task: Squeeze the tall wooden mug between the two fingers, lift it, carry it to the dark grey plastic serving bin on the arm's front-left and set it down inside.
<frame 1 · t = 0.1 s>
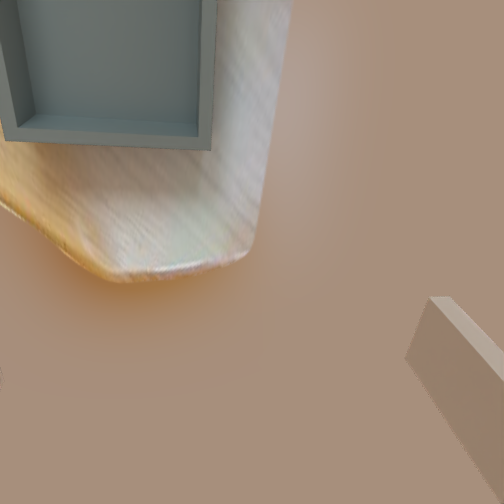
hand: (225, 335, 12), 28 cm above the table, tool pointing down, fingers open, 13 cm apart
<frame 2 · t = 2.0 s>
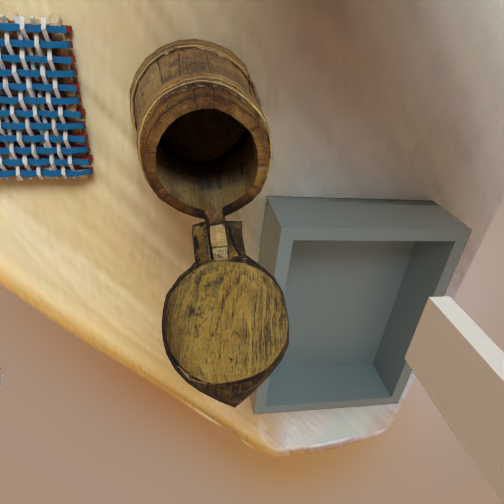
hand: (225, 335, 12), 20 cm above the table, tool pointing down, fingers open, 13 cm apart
serving bin: (330, 293, 39), on the table
wooden mug: (199, 142, 29), on the table
woven mat: (3, 100, 26), on the table
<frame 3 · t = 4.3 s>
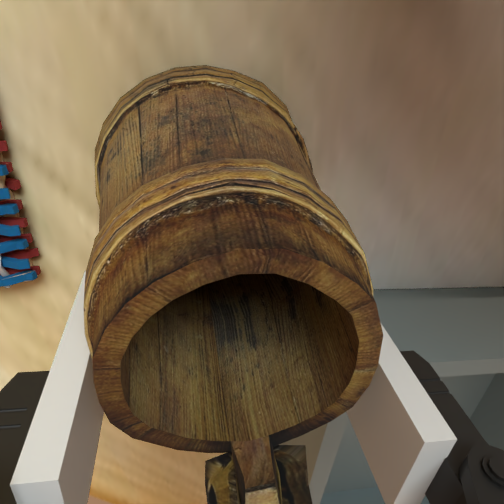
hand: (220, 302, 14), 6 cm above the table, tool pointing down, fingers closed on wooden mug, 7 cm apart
serving bin: (386, 403, 28), on the table
wooden mug: (209, 222, 19), on the table, touching gripper
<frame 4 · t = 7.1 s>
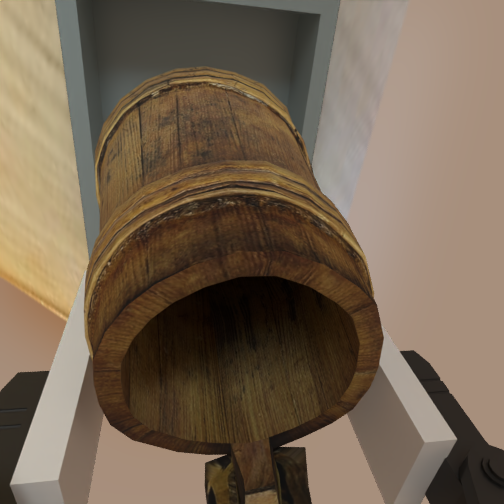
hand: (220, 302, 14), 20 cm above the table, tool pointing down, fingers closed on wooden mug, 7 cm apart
serving bin: (196, 141, 30), on the table
wooden mug: (209, 223, 19), point 14 cm above the table, touching gripper
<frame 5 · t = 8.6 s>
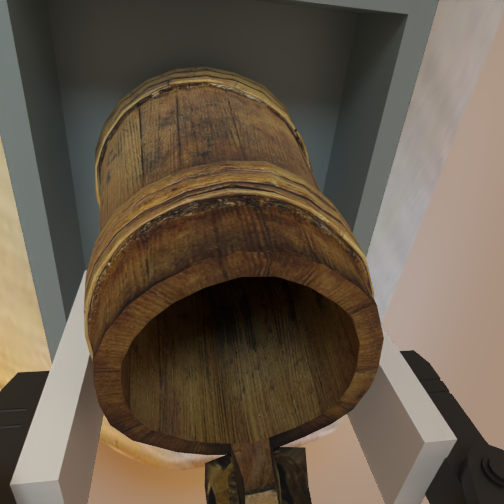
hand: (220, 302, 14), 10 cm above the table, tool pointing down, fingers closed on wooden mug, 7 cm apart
serving bin: (204, 189, 22), on the table
wooden mug: (209, 223, 19), point 4 cm above the table, touching gripper
when the fingers open (8 cm above the table, at t = 9.9 s): wooden mug drops 1 cm, resting on serving bin.
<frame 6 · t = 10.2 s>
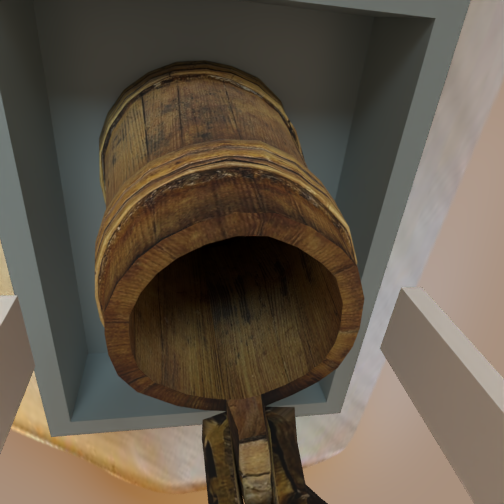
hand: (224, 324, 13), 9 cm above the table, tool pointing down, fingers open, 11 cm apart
serving bin: (205, 205, 20), on the table
wooden mug: (206, 210, 20), point 1 cm above the table, touching serving bin
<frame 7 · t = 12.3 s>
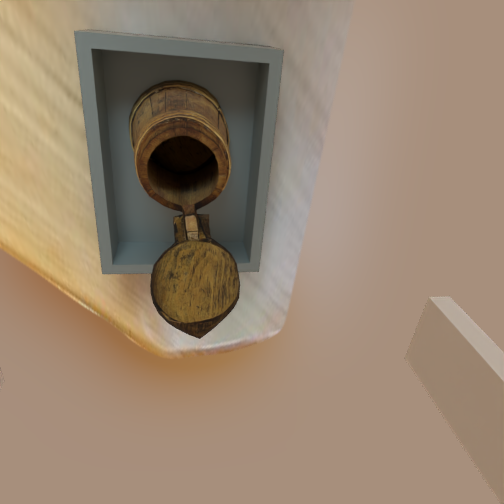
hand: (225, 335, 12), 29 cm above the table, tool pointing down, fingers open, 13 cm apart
serving bin: (182, 155, 38), on the table
wooden mug: (182, 156, 38), point 1 cm above the table, touching serving bin
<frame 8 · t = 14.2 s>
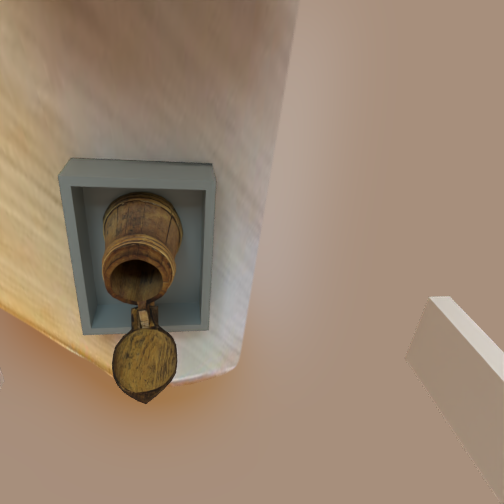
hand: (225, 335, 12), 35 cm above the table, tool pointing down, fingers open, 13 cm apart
serving bin: (147, 240, 49), on the table
wooden mug: (146, 242, 48), point 1 cm above the table, touching serving bin
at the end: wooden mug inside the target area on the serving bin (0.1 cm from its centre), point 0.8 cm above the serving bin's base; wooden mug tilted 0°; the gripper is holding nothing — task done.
